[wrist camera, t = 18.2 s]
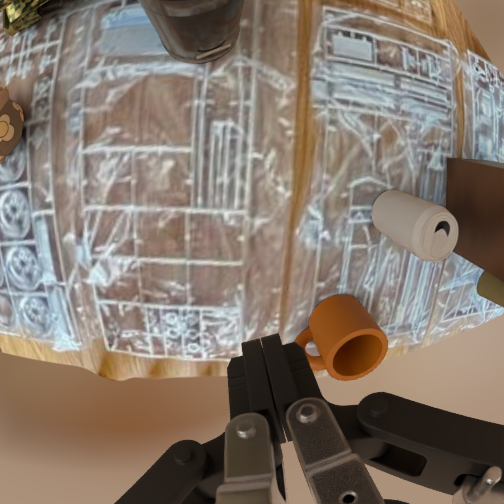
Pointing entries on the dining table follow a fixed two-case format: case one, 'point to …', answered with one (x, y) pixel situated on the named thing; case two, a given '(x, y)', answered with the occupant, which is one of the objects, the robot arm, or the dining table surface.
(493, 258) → the box
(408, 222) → the beverage can
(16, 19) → the toy tank
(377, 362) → the mug
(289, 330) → the dining table surface
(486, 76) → the dining table surface
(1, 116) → the action figure
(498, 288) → the pepper shaker
